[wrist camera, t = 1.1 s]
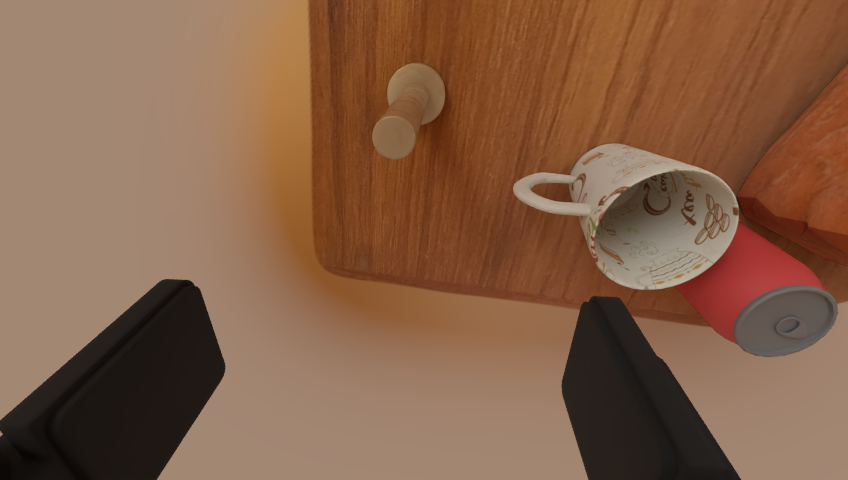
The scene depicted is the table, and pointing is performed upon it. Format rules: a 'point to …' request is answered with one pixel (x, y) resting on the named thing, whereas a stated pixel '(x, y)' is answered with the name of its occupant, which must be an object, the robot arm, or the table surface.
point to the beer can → (762, 298)
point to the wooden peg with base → (408, 109)
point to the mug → (643, 214)
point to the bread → (807, 178)
